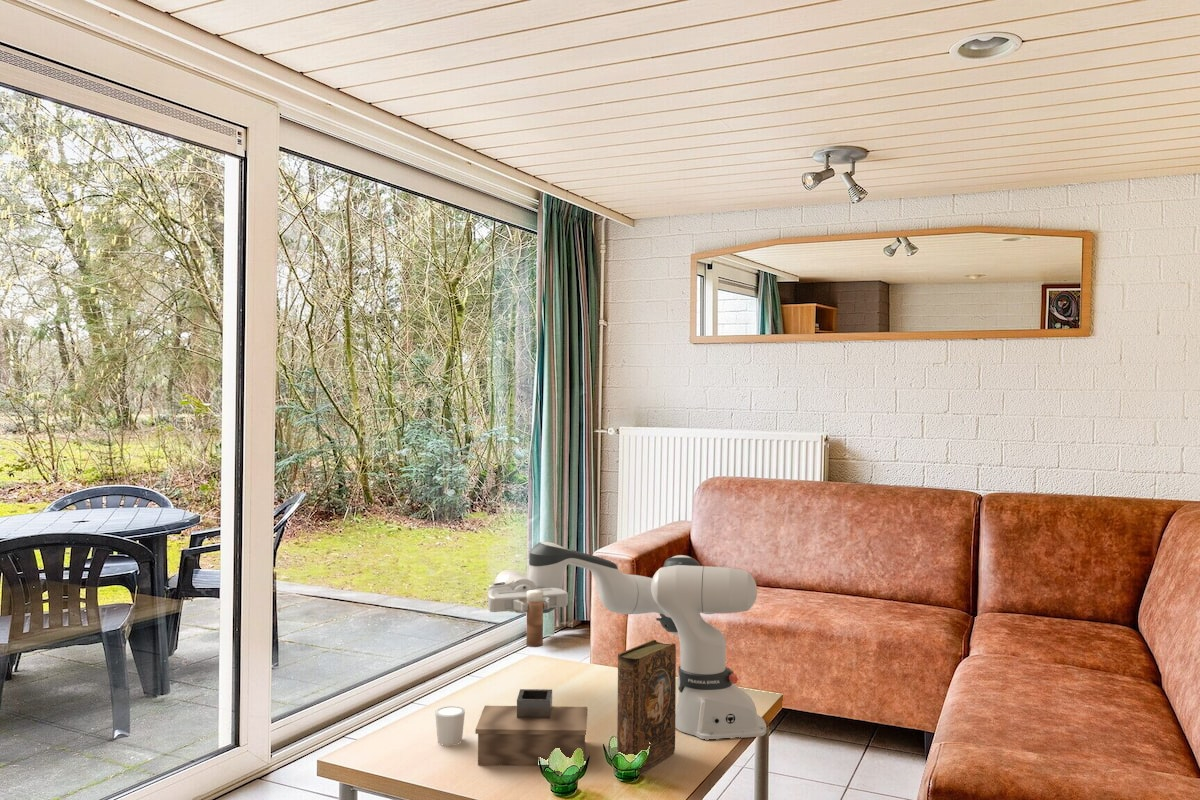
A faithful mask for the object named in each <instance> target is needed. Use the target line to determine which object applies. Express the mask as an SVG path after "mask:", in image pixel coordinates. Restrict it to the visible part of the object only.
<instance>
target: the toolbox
mask: <svg viewBox="0 0 1200 800" xmlns="http://www.w3.org/2000/svg"><path fill="white" fill-rule="evenodd" d="M587 725H588V706H566V705H565V706H557V705H556V706H555V705H553V689H547V688H546V689H545V688H543V689H540V688H539V689H535V688H534V689H531V688H530V689H528V688H524V689H522V688H520V689H519V692H518V695H517V699H516V705H484V707H483V709H482V711H481V714H480V716H479V719H478V722H477V725H476V727H475V735H477V766H515V767H516V766H523V767H524V766H526V767H527V766H529V767H535V766H536V767H537V766H538V757H541V758H543V759H545V760H547V759H548V758H549V756H550V754H551V752H552V751H553V750H554V749H555V748H560V750H561V752H562V753H563V754H564V755H565V756H566V757H569V758H571V757H572V755H573V753H574V751H575V750H576V749H577V748H581V749H582V751H583V754H584V755H585V749H586V748H585V747H586V736H587Z"/></svg>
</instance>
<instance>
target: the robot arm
mask: <svg viewBox="0 0 1200 800" xmlns="http://www.w3.org/2000/svg"><path fill="white" fill-rule="evenodd" d="M528 556H529V558H528V559H529V560H528V565H529V567H528V573H527V577H526V576H525V575H524V574H522V573H521V572H519V571H517V570H513V569H505V570H502V571H500V572H499V573H498V574H497V575H496V576H495V578H494V582H493V583H492V584H491V583H490V584H488V590H487V610H488V611H489V612H490V613H500V612H501V613H502V612H511V613H516V614H517V613H518V614H527V611H528V603H527V591H529V590H541V591H543V614H547V613H551V612H552V611H554V610H555V609H557V608H563V607H567V606H568V605H569V593H568V592H567V591H566V590H564V589H563V585H564V576H565V571H566V567H567V566H568V565H571V566H575V567H578V568H583V569H586V570H588V571H590V572H591V574H592V575H593V578H594V583H595V585H596V586H595V587H596V592H597V596H598V598H599V600H600V602H601V604H602V605H603V606H604V608H606V610H608V611H609V612H610V613H613V614H621V615H640V614H641V615H643V614H651V613H656V614H658V615H659V616H660V617H656V618H655V620H656V621H657V622H658V621H659V623H660V625H661V627H662V628H663V629H664V630H665V631H666V632H668V633H671V634H673V635H675V636H678V640H679V653H680V654H679V655H680V664H679V666H678V671H677V688H678V700H677V707H676V710H675V729H677V731H680V732H681V733H684V734H688V735H691V736H696V737H697V738H699V739H701V740H703V739H705V740H704V741H710V740H709V739H716V740H720V739H719V738H730V739H732V738H731V737H734V738H733V739H736V738H735V737H739V738H738V739H743V738H758V737H763V736H765V735H766V733H767V730H768V729H767V724H766V721H765V719H763V717H762V716H760V715H759V714H758V712H757V706H756V705H755V702H754V700H753V699H752V697H751V696H750V695H749V694H748V693H747V692H745V691H744V690H743V689H741V688H740V687H739V686H737V683H738V682H739V678H738V676H737V674H736V673H734V671H733V670H732V669H731V668H730V667H729V666H728V667H727V666H726V664H727V663H726V662H727V660H726V657H727V656H726V655H727V654H726V653H727V651H726V650H727V642H726V638H725V636H724V633H723V632H722V631H720V630H719V628H717V627H716V626H714V625H712V624H710V623H708V622H707V621H705V620H704V619H703V617H702V615H701V614H704V615H715V614H720V615H721V614H725V615H726V614H735V613H742V612H747V611H749V610H751V608H752V607H754V604H755V602H756V600H757V596H758V588H757V587H758V586H757V582H756V580H755V578H754V577H753V575H752V573H750V572H749V571H746V570H743V569H738V568H735V567H729V566H728V567H727V566H712V565H711V566H707V565H704V566H703V565H701V564H700V562H699V561H698V560H696V559H695V558H693V557H691V556H689V555H683V554H678V555H674V556H672V557H668V558H667V559H666V560H665V561H664V563H663V566H662V567H659V568H658V570H656V571H655V573H654V575H653V576H652V577H650V576H649V577H648V576H643V575H639V574H628V573H624V572H622V571H621V570H619V568H618V565H617V564H616V563H615V562H613V561H611V560H608V559H606V558H602V557H599V556H597V555H592V554H589V553H585V552H582V551H577V550H574V549H569V548H566V547H564V546H561V545H560V544H556V543H555V542H550V541H541V542H540V541H539V542H538V543H536V544H535V545H534V547H532V548H531V550H530V551H529V554H528ZM740 737H741V738H740Z"/></svg>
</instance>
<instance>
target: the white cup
mask: <svg viewBox="0 0 1200 800" xmlns="http://www.w3.org/2000/svg"><path fill="white" fill-rule="evenodd" d="M434 713H435V725H436V737H437V743H438V744H439V743H440V744H443V745H442V746H444V745H452V746H455V745H454V744H457V745H459V744H461V743H462V741H463V734H464V723H465V713H466V711H465V709H464V708H463V707H460V706H456V705H455V706H452V705H451V706H442V707H439V708H438V709H436V710H435V712H434ZM460 742H461V743H460ZM458 743H459V744H458ZM440 744H439V745H440Z"/></svg>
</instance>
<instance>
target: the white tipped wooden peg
mask: <svg viewBox="0 0 1200 800" xmlns="http://www.w3.org/2000/svg"><path fill="white" fill-rule="evenodd" d="M527 603H528V611H527V612H526V646H527V647H529V648H540V647H543V645H544V613H543V591H541V590H529V591H527Z"/></svg>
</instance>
